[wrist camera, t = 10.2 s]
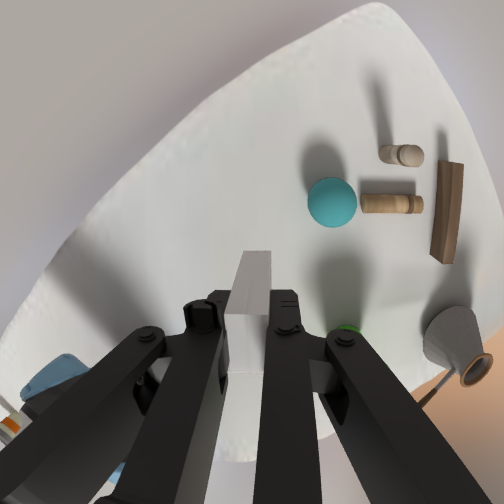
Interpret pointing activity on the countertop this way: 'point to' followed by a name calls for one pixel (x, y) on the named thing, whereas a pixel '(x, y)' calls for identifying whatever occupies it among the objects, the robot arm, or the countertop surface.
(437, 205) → the bar
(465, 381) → the coffee pot
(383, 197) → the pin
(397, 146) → the side pin
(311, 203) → the ball
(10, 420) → the reusable coffee cup
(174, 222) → the countertop surface
